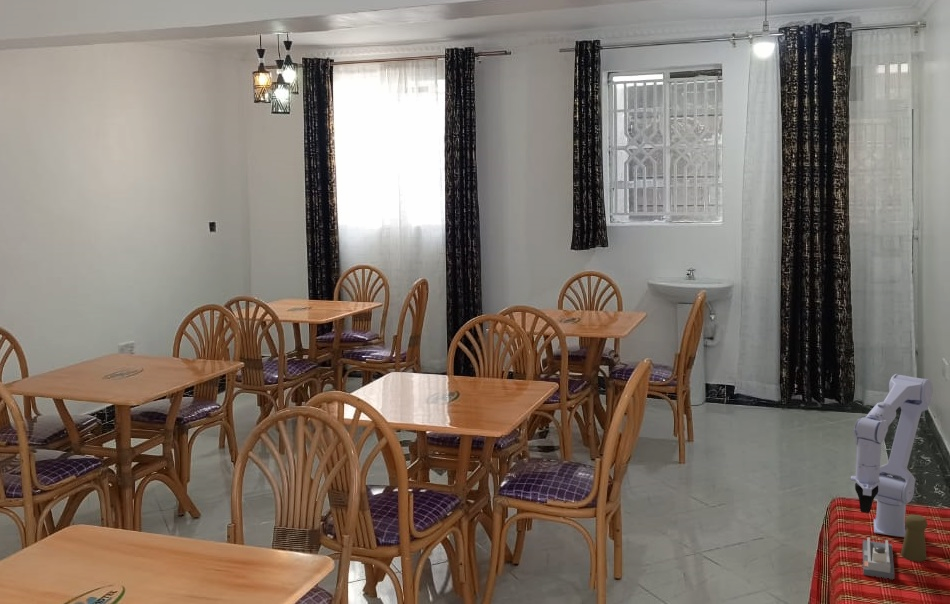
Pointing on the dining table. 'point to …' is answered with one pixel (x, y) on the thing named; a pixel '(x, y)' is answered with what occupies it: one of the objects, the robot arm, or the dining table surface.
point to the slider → (879, 554)
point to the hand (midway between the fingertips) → (865, 511)
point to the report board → (877, 567)
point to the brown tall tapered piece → (914, 538)
